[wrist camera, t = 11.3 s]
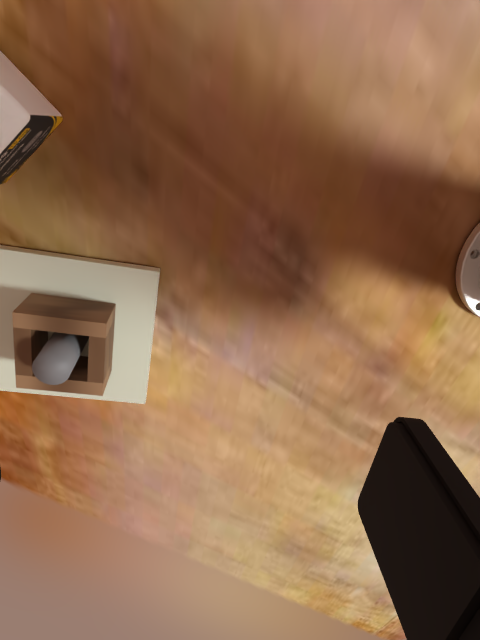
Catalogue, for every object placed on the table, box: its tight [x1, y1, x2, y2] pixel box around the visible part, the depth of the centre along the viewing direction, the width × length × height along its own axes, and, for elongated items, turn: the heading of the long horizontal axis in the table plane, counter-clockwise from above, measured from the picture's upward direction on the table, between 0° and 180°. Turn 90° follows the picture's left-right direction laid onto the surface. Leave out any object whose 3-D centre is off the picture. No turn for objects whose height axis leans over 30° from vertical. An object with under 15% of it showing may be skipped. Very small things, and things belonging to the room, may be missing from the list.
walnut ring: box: [12, 293, 116, 396], centre depth 35 cm, size 7×7×4 cm
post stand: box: [0, 245, 160, 404], centre depth 35 cm, size 14×14×7 cm
